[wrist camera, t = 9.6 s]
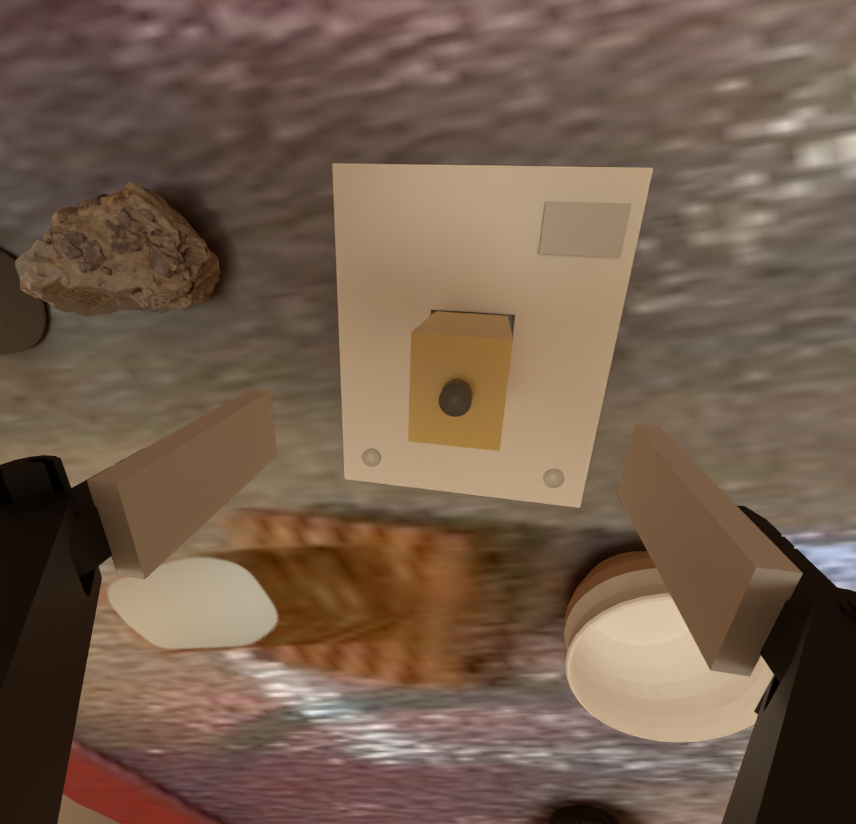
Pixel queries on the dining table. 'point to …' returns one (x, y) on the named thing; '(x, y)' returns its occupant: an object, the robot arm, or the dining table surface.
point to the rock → (119, 257)
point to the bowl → (649, 660)
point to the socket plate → (483, 312)
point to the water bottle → (18, 311)
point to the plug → (459, 380)
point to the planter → (582, 816)
